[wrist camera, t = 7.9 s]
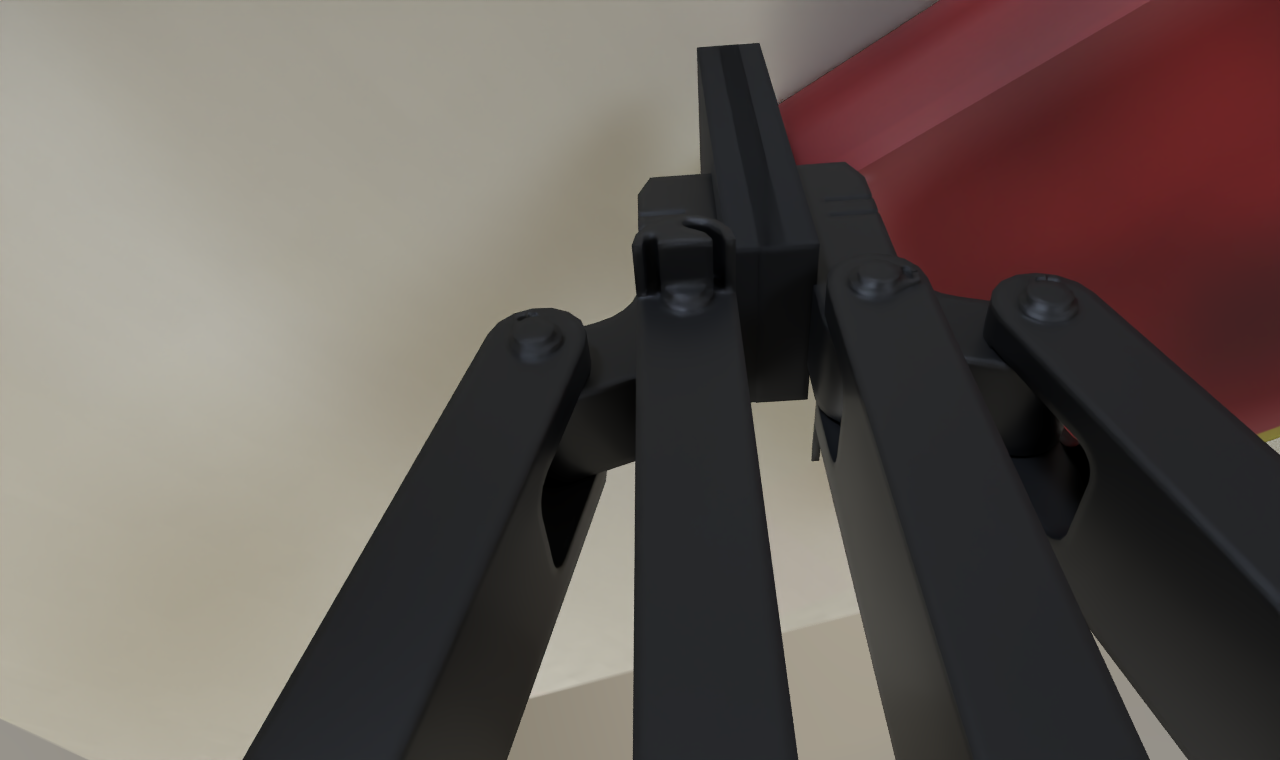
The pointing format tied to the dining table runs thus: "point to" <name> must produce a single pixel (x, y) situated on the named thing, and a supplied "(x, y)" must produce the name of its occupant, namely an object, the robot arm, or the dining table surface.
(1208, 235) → the hardcover book
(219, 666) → the dining table surface
